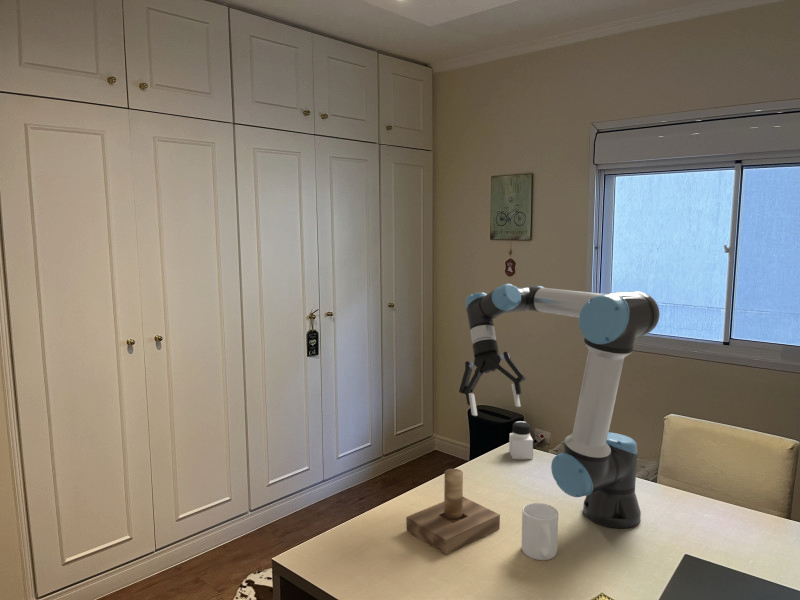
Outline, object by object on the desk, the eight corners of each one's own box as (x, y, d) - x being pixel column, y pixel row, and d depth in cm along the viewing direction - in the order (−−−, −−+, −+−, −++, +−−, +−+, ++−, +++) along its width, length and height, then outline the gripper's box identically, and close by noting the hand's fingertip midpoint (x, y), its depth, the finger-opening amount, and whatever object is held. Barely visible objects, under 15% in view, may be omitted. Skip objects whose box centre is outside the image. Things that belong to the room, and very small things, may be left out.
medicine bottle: (532, 459, 203) (533, 426, 201) (512, 459, 203) (513, 426, 202) (528, 451, 210) (529, 419, 208) (508, 451, 210) (509, 419, 209)
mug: (530, 570, 137) (532, 527, 136) (517, 543, 149) (518, 503, 147) (566, 569, 137) (568, 526, 136) (550, 542, 149) (551, 502, 148)
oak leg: (466, 530, 155) (466, 472, 153) (453, 536, 152) (453, 477, 150) (453, 523, 159) (453, 467, 157) (440, 529, 156) (440, 471, 154)
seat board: (499, 528, 156) (499, 514, 155) (445, 555, 143) (445, 539, 143) (459, 508, 167) (459, 495, 167) (406, 530, 155) (406, 516, 154)
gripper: (527, 335, 176) (540, 404, 168) (452, 354, 187) (462, 420, 179) (519, 329, 170) (533, 400, 162) (442, 349, 181) (452, 417, 173)
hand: (496, 411), depth 170 cm, fingers open, 13 cm apart
